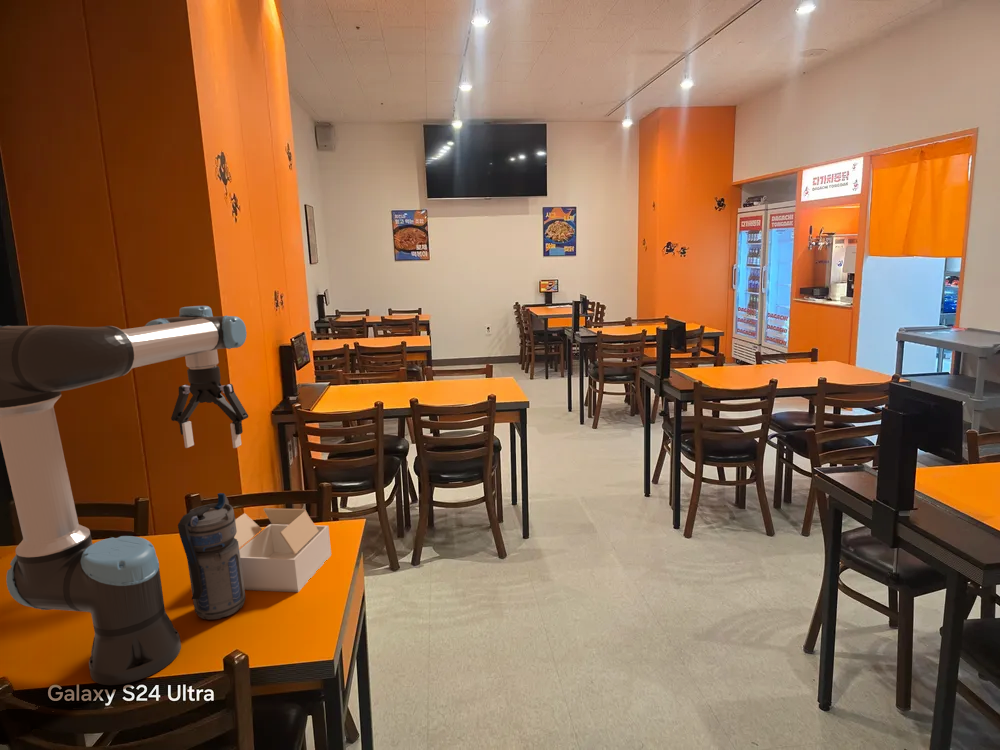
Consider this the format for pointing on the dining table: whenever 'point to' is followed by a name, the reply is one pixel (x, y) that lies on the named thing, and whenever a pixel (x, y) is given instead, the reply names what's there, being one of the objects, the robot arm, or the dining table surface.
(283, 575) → the carton
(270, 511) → the flap
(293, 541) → the flap
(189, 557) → the beverage bottle
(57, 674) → the dining table surface
